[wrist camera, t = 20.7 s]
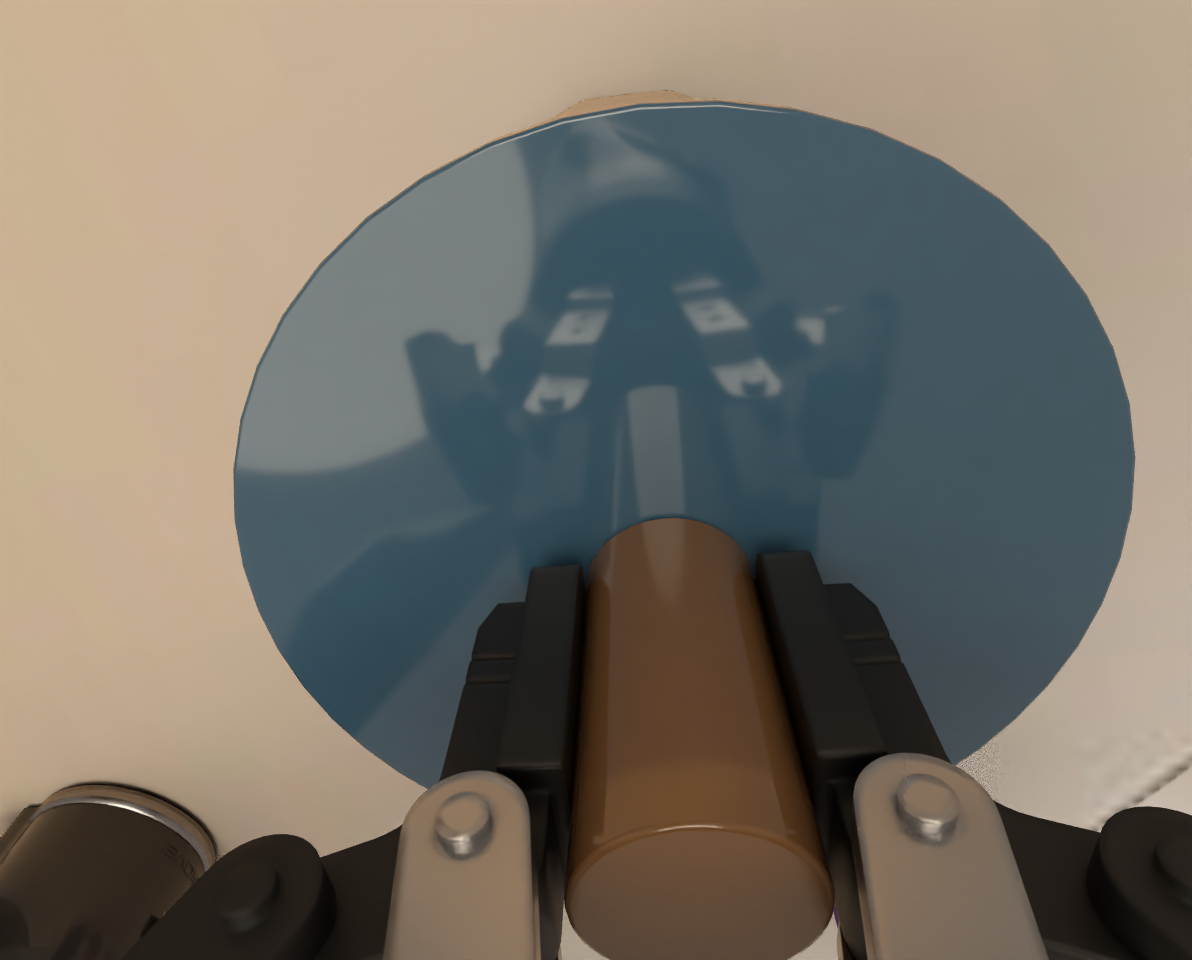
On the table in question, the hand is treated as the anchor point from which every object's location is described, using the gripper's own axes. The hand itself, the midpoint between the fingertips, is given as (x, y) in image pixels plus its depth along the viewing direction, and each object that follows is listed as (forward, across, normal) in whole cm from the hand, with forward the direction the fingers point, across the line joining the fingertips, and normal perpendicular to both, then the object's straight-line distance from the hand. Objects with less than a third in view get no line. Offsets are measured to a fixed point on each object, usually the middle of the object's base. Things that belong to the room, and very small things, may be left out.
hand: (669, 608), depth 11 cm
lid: (+1, 0, 0) cm, 1 cm away
